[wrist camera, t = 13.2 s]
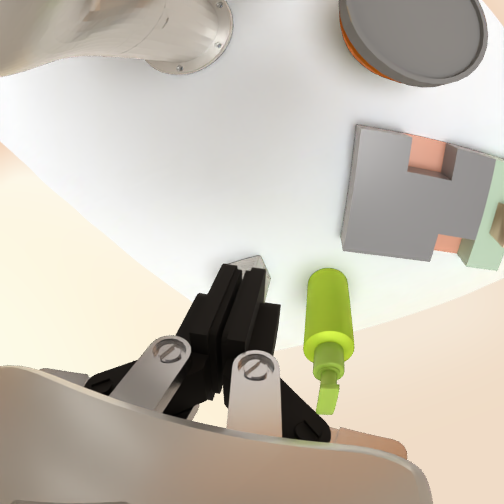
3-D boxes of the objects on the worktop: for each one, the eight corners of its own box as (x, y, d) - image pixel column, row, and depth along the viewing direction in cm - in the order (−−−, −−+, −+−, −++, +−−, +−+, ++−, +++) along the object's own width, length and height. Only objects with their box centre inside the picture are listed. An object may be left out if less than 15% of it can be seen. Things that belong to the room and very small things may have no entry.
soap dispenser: (306, 305, 48) (296, 416, 31) (308, 267, 45) (300, 379, 28) (344, 307, 47) (350, 418, 30) (349, 268, 44) (362, 380, 27)
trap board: (356, 124, 34) (361, 128, 31) (513, 162, 31) (528, 170, 28) (340, 236, 42) (342, 250, 38) (486, 257, 38) (497, 270, 35)
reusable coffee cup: (356, -24, 25) (378, -77, 12) (445, 31, 26) (507, 12, 13) (312, 52, 31) (313, 28, 18) (403, 107, 32) (454, 119, 19)
